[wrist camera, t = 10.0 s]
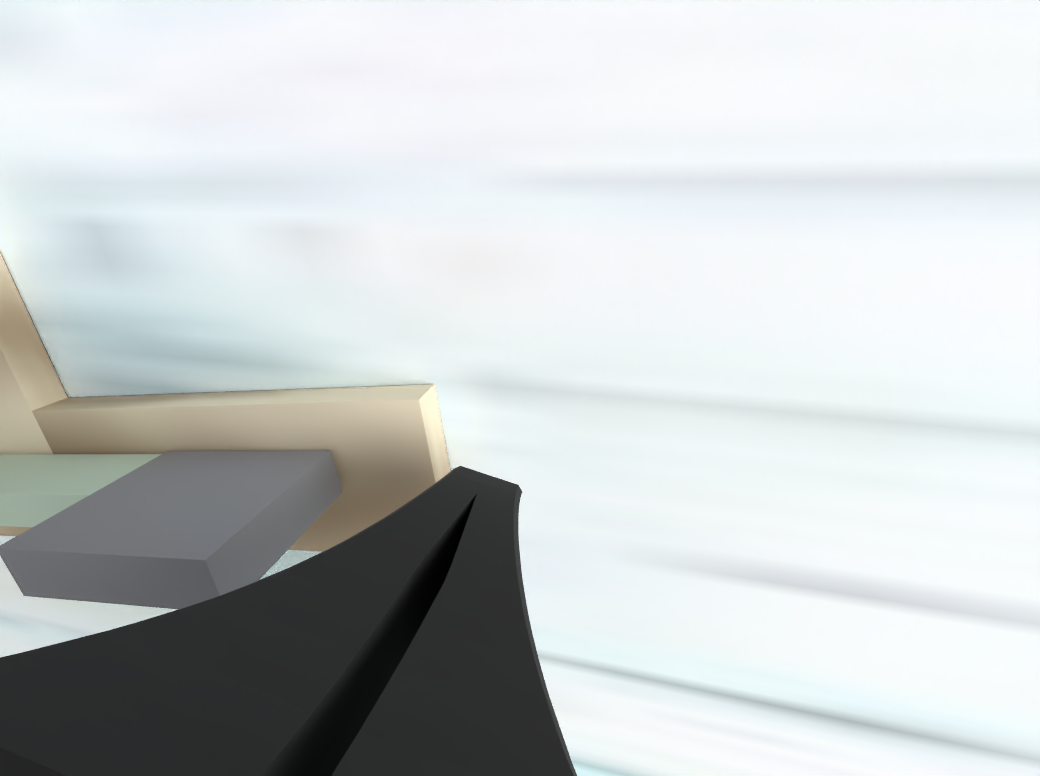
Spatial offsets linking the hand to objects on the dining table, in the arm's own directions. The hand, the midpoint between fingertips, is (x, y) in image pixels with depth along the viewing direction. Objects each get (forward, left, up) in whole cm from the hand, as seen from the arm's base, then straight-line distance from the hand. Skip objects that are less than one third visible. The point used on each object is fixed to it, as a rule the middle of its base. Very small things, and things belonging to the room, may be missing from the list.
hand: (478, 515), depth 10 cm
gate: (0, -11, -2) cm, 11 cm away
